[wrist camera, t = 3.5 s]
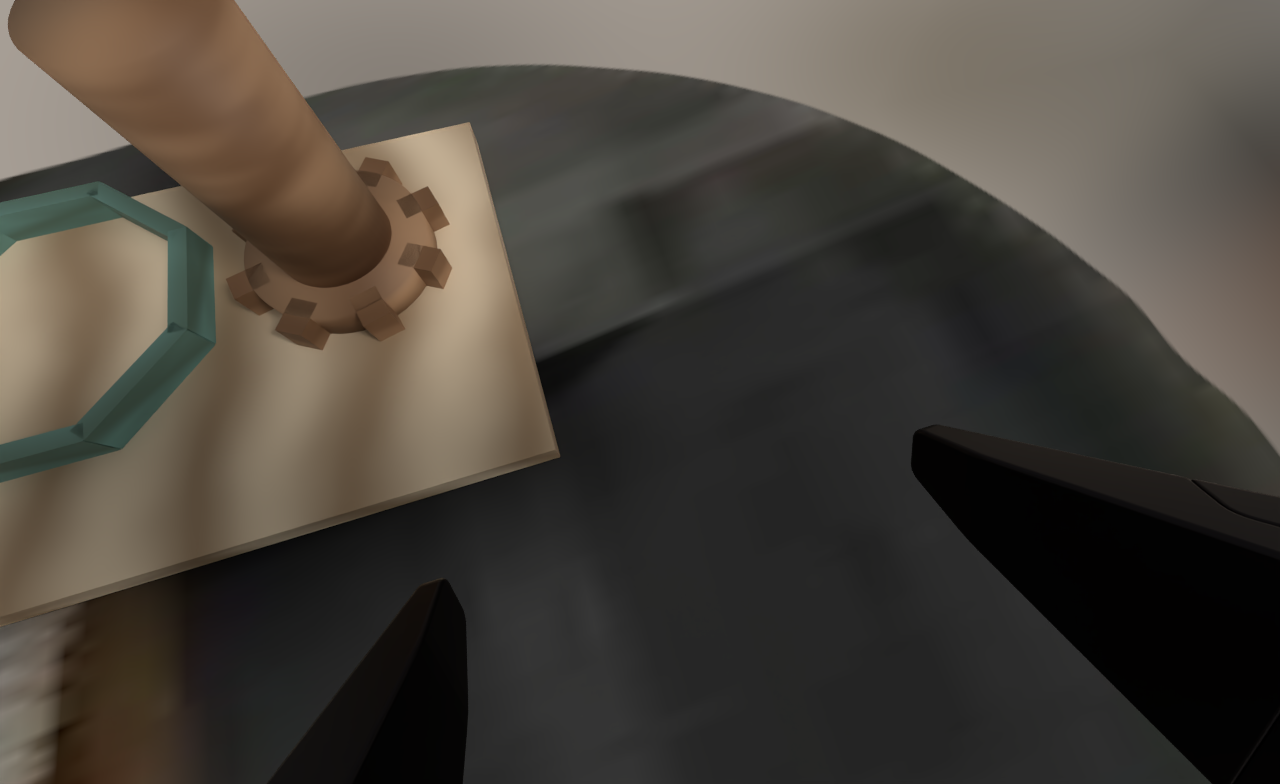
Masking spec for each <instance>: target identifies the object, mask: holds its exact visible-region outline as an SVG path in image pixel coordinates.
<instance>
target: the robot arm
mask: <svg viewBox="0 0 1280 784" xmlns="http://www.w3.org/2000/svg"><path fill="white" fill-rule="evenodd" d="M911 467H912V471H913V473H914V475H915V477H916V478H917V480H918V481H919V482H920V483H921V484H922V486H923V487H924V488H925V489H926V490H927V492H928V493H929V494H930V495H931V496H932V498H933V499H934V500H935V501H936V502H937V504H938V505H939V506H940V507H941V508H942V510H943V511H944V512H945V513H946V514H947V516H948V517H949V518H950V519H951V520H952V522H953V523H954V524H955V525H956V526H957V528H958V529H959V530H960V531H961V532H962V533H963V535H964V536H965V537H966V538H967V539H968V540H969V541H970V542H971V543H972V544H973V545H974V547H975V548H976V549H977V550H978V551H979V552H980V553H981V554H982V555H983V556H984V557H985V558H986V559H987V560H988V561H989V562H990V563H991V564H992V565H993V566H994V567H995V568H996V569H997V570H998V571H999V572H1000V573H1001V574H1002V575H1003V576H1004V577H1005V578H1006V579H1007V580H1008V581H1009V582H1010V583H1011V584H1012V585H1013V586H1014V587H1015V588H1016V589H1017V590H1018V591H1019V592H1020V593H1021V594H1022V595H1023V596H1024V597H1025V598H1026V599H1027V600H1028V601H1029V602H1030V603H1031V604H1032V605H1033V606H1034V607H1035V608H1036V609H1037V610H1038V611H1039V612H1040V613H1041V614H1042V615H1043V616H1044V617H1045V618H1046V619H1047V620H1048V621H1049V622H1050V623H1051V624H1052V625H1053V626H1054V627H1055V628H1056V629H1057V630H1058V631H1059V632H1060V633H1061V634H1062V635H1063V636H1064V637H1065V638H1066V639H1067V640H1068V641H1069V642H1070V643H1071V644H1072V645H1073V646H1074V647H1075V648H1076V649H1077V650H1079V651H1080V652H1081V653H1082V654H1083V655H1084V656H1085V657H1086V658H1087V659H1088V660H1089V661H1090V662H1091V663H1092V664H1093V665H1094V666H1095V667H1096V668H1097V669H1098V670H1099V671H1100V672H1101V673H1102V674H1103V675H1104V676H1105V677H1106V678H1107V679H1108V680H1109V681H1110V682H1111V683H1112V684H1113V685H1114V686H1115V687H1116V688H1117V689H1118V690H1119V691H1120V692H1121V693H1122V694H1123V695H1124V696H1125V697H1126V698H1127V699H1128V700H1129V701H1130V702H1131V703H1132V704H1133V705H1134V706H1135V707H1136V708H1137V709H1138V710H1139V711H1140V712H1141V713H1142V714H1143V715H1144V716H1145V717H1146V718H1147V719H1148V720H1149V721H1150V722H1151V723H1152V724H1153V725H1154V726H1155V727H1156V728H1157V729H1158V730H1159V731H1160V732H1161V733H1162V734H1163V735H1164V736H1165V737H1166V738H1167V739H1168V740H1169V741H1170V742H1171V743H1172V744H1173V745H1174V746H1175V747H1176V748H1177V749H1178V750H1179V751H1180V752H1181V753H1182V754H1183V755H1184V756H1185V757H1186V758H1187V759H1188V760H1189V761H1190V762H1191V763H1192V764H1193V765H1194V766H1195V767H1196V768H1197V769H1198V770H1199V771H1200V772H1201V773H1202V774H1203V775H1204V776H1205V777H1206V778H1207V779H1208V780H1209V781H1210V782H1211V783H1212V784H1280V497H1278V496H1273V495H1268V494H1263V493H1258V492H1253V491H1248V490H1243V489H1238V488H1234V487H1229V486H1224V485H1219V484H1215V483H1210V482H1205V481H1201V480H1196V479H1194V480H1190V479H1188V478H1186V477H1181V476H1177V475H1172V474H1167V473H1163V472H1158V471H1153V470H1148V469H1144V468H1139V467H1134V466H1130V465H1125V464H1120V463H1116V462H1111V461H1106V460H1102V459H1097V458H1092V457H1087V456H1083V455H1078V454H1073V453H1069V452H1064V451H1059V450H1055V449H1050V448H1045V447H1041V446H1036V445H1031V444H1026V443H1022V442H1017V441H1012V440H1008V439H1003V438H998V437H994V436H989V435H984V434H980V433H975V432H970V431H966V430H961V429H956V428H951V427H947V426H942V425H931V426H928V427H925V428H922V429H919V430H917V431H916V432H915V433H914V435H913V443H912V457H911ZM467 723H468V677H467V640H466V619H465V614H464V611H463V608H462V606H461V604H460V602H459V600H458V598H457V597H456V595H455V593H454V591H453V589H452V587H451V585H450V583H449V582H448V581H447V580H446V579H444V578H440V579H437V580H433V581H430V582H427V583H424V584H422V585H420V586H419V587H418V588H417V589H416V591H415V592H414V593H413V594H412V596H411V597H410V598H409V600H408V601H407V602H406V604H405V605H404V606H403V607H402V609H401V610H400V611H399V613H398V614H397V615H396V616H395V618H394V619H393V620H392V622H391V623H390V624H389V626H388V627H387V628H386V629H385V631H384V632H383V633H382V635H381V636H380V637H379V639H378V640H377V641H376V642H375V644H374V645H373V646H372V648H371V649H370V650H369V652H368V653H367V654H366V655H365V657H364V658H363V659H362V661H361V662H360V663H359V665H358V666H357V667H356V668H355V670H354V671H353V672H352V674H351V675H350V676H349V677H348V679H347V680H346V681H345V683H344V684H343V685H342V687H341V688H340V689H339V690H338V692H337V693H336V694H335V696H334V697H333V698H332V700H331V701H330V702H329V703H328V705H327V706H326V707H325V709H324V710H323V711H322V713H321V714H320V715H319V716H318V718H317V719H316V720H315V722H314V723H313V724H312V725H311V727H310V728H309V729H308V731H307V732H306V733H305V735H304V736H303V737H302V738H301V740H300V741H299V742H298V744H297V745H296V746H295V748H294V749H293V750H292V751H291V753H290V754H289V755H288V757H287V758H286V759H285V761H284V762H283V763H282V764H281V766H280V767H279V768H278V770H277V771H276V772H275V773H274V775H273V776H272V777H271V779H270V780H269V781H268V783H267V784H463V773H464V761H465V749H466V737H467Z"/></svg>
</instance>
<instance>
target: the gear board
mask: <svg viewBox="0 0 1280 784" xmlns="http://www.w3.org/2000/svg"><path fill="white" fill-rule="evenodd" d="M342 153H343V154H344V155H345V157H346V158H347V160H348V161H349V162H350V164H351V165H352V167H353V168H354V169H355V170H359V168H360V166H361V165H362V163H363V161H364V159H365V157H368V158H374V159H379V160H384V161H389V163H390V164H391V166H392V168H393V169H394V171H395V172H396V174H397V176H398V177H399V179H400V181H401V182H402V186H404V187H405V188H406V189H407V190H408V191H409V192H410V193H411V194H412V193H414V192H416V191H418V190H420V189H422V188H425V187H427V186H428V187H429V189H430V190H431V192H432V194H433V195H434V197H435V199H436V200H437V202H438V204H439V205H440V207H441V209H442V211H443V213H444V215H445V216H446V218H447V220H448V222H449V224H450V225H448V226H446V227H443V228H441V229H439V230H437V231H435V232H434V233H435V236H436V241H437V248H438V249H441V250H442V252H443V254H444V255H445V257H446V258H447V260H448V262H449V263H450V265H451V267H452V270H451V273H450V275H449V278H448V280H447V282H446V285H445V287H444V289H440V288H435V287H430V286H426V287H425V289H424V290H423V292H422V293H421V295H420V296H419V297H418V298H417V299H416V300H415V301H414V302H413V303H412V304H411V305H410V306H409V307H408V308H407V309H406V310H404V311H403V312H402V313H400V314H399V315H398V316H399V318H400V320H401V322H402V324H403V325H404V327H405V330H403V331H401V332H399V333H397V334H395V335H393V336H391V337H389V338H387V339H385V340H383V341H379V340H378V339H377V338H376V337H375V336H374V335H372V334H371V333H370V332H369V331H368V330H364V331H359V332H354V333H346V334H330V336H329V338H328V340H327V342H326V344H325V347H324V349H323V350H318V349H314V348H309V347H305V346H300V345H297V344H295V343H294V342H292V341H291V340H289V339H288V338H286V337H285V336H283V335H282V334H280V333H278V332H277V331H275V329H276V327H277V325H278V323H279V321H280V319H281V317H282V314H281V313H279V312H278V311H277V310H275V309H272V310H270V311H268V312H266V313H264V314H262V315H260V316H259V315H257V314H256V313H254V312H253V311H251V310H250V309H248V308H247V307H245V306H244V305H242V304H241V303H239V302H238V301H236V300H235V299H234V298H233V295H232V293H231V290H230V288H229V285H228V283H227V281H226V278H229V277H231V276H233V275H235V274H237V273H239V272H242V271H244V270H245V267H244V250H245V245H246V242H244V241H243V240H242V239H241V238H240V237H238V236H237V235H236V234H235V233H234V232H232V229H233V228H232V227H231V226H229V225H228V224H227V223H226V222H225V221H223V220H222V219H221V218H220V217H219V216H217V215H216V214H215V213H214V212H213V211H211V210H210V209H209V208H208V207H207V206H205V205H204V204H203V203H202V202H201V201H199V200H198V199H197V198H196V197H195V196H193V195H192V194H191V193H190V192H188V191H187V190H186V189H185V188H184V187H182V186H179V187H174V188H170V189H165V190H161V191H156V192H152V193H147V194H142V195H138V196H133V197H129V196H127V195H125V194H123V193H121V192H119V191H117V190H115V189H113V188H111V187H109V186H108V185H106V184H104V183H102V182H99V181H98V182H94V183H89V184H84V185H80V186H75V187H70V188H66V189H61V190H57V191H52V192H47V193H43V194H38V195H33V196H29V197H24V198H20V199H15V200H10V201H6V202H1V203H0V627H2V626H5V625H8V624H11V623H15V622H18V621H21V620H25V619H28V618H31V617H35V616H38V615H41V614H44V613H48V612H51V611H54V610H58V609H61V608H64V607H68V606H71V605H74V604H77V603H81V602H84V601H87V600H91V599H94V598H97V597H100V596H104V595H107V594H110V593H114V592H117V591H120V590H124V589H127V588H130V587H133V586H137V585H140V584H143V583H147V582H150V581H153V580H157V579H160V578H163V577H166V576H170V575H173V574H176V573H180V572H183V571H186V570H189V569H193V568H196V567H199V566H203V565H206V564H209V563H213V562H216V561H219V560H222V559H226V558H229V557H232V556H236V555H239V554H242V553H246V552H249V551H252V550H255V549H259V548H262V547H265V546H269V545H272V544H275V543H278V542H282V541H285V540H288V539H292V538H295V537H298V536H302V535H305V534H308V533H311V532H315V531H318V530H321V529H325V528H328V527H331V526H335V525H338V524H341V523H344V522H348V521H351V520H354V519H358V518H361V517H364V516H367V515H371V514H374V513H377V512H381V511H384V510H387V509H391V508H394V507H397V506H400V505H404V504H407V503H410V502H414V501H417V500H420V499H424V498H427V497H430V496H433V495H437V494H440V493H443V492H447V491H450V490H453V489H456V488H460V487H463V486H466V485H470V484H473V483H476V482H480V481H483V480H486V479H489V478H493V477H496V476H499V475H503V474H506V473H509V472H513V471H516V470H519V469H522V468H526V467H529V466H532V465H536V464H539V463H542V462H545V461H549V460H552V459H555V458H559V457H560V453H559V450H558V446H557V442H556V438H555V434H554V431H553V427H552V423H551V419H550V415H549V412H548V408H547V404H546V400H545V397H544V393H543V389H542V385H541V381H540V378H539V374H538V370H537V366H536V363H535V359H534V355H533V351H532V347H531V344H530V340H529V336H528V332H527V329H526V325H525V321H524V317H523V313H522V310H521V306H520V302H519V298H518V295H517V291H516V287H515V283H514V279H513V276H512V272H511V268H510V264H509V261H508V257H507V253H506V249H505V245H504V242H503V238H502V234H501V230H500V227H499V223H498V219H497V215H496V211H495V208H494V204H493V200H492V196H491V193H490V189H489V185H488V181H487V177H486V174H485V170H484V166H483V162H482V159H481V155H480V151H479V147H478V144H477V141H476V138H475V136H474V133H473V130H472V128H471V125H470V122H468V123H464V124H459V125H455V126H450V127H446V128H441V129H437V130H432V131H428V132H423V133H419V134H414V135H410V136H405V137H400V138H396V139H391V140H387V141H382V142H378V143H373V144H369V145H364V146H360V147H355V148H351V149H346V150H342Z"/></svg>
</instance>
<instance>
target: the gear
mask: <svg viewBox="0 0 1280 784" xmlns="http://www.w3.org/2000/svg"><path fill="white" fill-rule="evenodd" d="M8 30H9V35H10V37H11V40H12V41H13V43H14V45H15V46H16V47H17V49H18V50H19V51H21V52H22V53H23V54H24V55H25V56H27V57H28V58H29V59H30V60H31V61H33V62H34V63H35V64H36V65H37V66H38V67H40V68H41V69H42V70H43V71H45V72H46V73H47V74H48V75H49V76H50V77H52V78H53V79H54V80H55V81H57V82H58V83H59V84H60V85H61V86H62V87H64V88H65V89H66V90H68V91H69V92H70V93H71V94H72V95H73V96H74V97H76V98H77V99H78V100H79V101H81V102H82V103H83V104H84V105H86V107H88V108H89V109H90V110H91V111H92V112H94V113H95V114H96V115H97V116H99V117H100V118H101V119H102V120H103V121H105V122H106V123H107V124H108V125H109V126H111V127H112V128H113V129H114V130H116V131H117V132H118V133H119V134H120V135H121V136H122V137H124V138H125V139H126V140H127V141H128V142H130V143H131V144H132V145H133V146H134V147H136V148H137V149H138V150H139V151H140V152H142V153H143V154H144V155H145V156H146V157H148V158H149V159H150V160H151V161H152V162H154V163H155V164H156V165H157V166H158V167H160V168H161V169H162V170H163V171H164V172H166V173H167V174H168V175H169V176H170V177H172V178H173V179H174V180H175V181H176V182H178V183H179V184H180V185H181V186H182V187H184V188H185V189H186V190H187V191H188V192H190V193H191V194H192V195H193V196H195V197H196V198H197V199H198V200H199V201H201V202H202V203H203V204H204V205H205V206H207V207H208V208H209V209H210V210H211V211H213V212H214V213H215V214H216V215H217V216H219V217H220V218H221V219H222V220H223V221H225V222H226V223H227V224H228V225H229V226H231V227H232V228H233V229H232V232H234V233H235V234H236V235H237V236H238V237H240V238H241V239H242V240H243V241H244V242H246V245H245V250H244V267H245V270H244V271H242V272H239V273H237V274H235V275H233V276H231V277H229V278H226V281H227V283H228V285H229V288H230V290H231V293H232V295H233V298H234V299H235V300H236V301H238V302H239V303H241V304H242V305H244V306H245V307H247V308H248V309H250V310H251V311H253V312H254V313H256V314H257V315H259V316H260V315H262V314H264V313H266V312H268V311H270V310H272V309H275V310H277V311H278V312H279V313H281V314H282V317H281V319H280V321H279V323H278V325H277V327H276V329H275V331H277V332H278V333H280V334H282V335H283V336H285V337H286V338H288V339H289V340H291V341H292V342H294V343H295V344H297V345H300V346H305V347H309V348H314V349H318V350H323V349H324V347H325V344H326V342H327V340H328V338H329V336H330V334H346V333H354V332H359V331H364V330H368V331H369V332H370V333H371V334H372V335H374V336H375V337H376V338H377V339H378V340H379V341H383V340H385V339H387V338H389V337H391V336H393V335H395V334H397V333H399V332H401V331H403V330H405V327H404V325H403V324H402V322H401V320H400V318H399V316H398V315H399V314H400V313H402V312H403V311H404V310H406V309H407V308H408V307H409V306H410V305H411V304H412V303H413V302H414V301H415V300H416V299H417V298H418V297H419V296H420V295H421V293H422V292H423V290H424V289H425V287H426V286H430V287H435V288H440V289H444V287H445V285H446V282H447V280H448V278H449V275H450V273H451V270H452V267H451V265H450V263H449V262H448V260H447V258H446V257H445V255H444V254H443V252H442V250H441V249H438V248H437V241H436V236H435V233H434V232H435V231H437V230H439V229H441V228H443V227H446V226H448V225H450V224H449V222H448V220H447V218H446V216H445V215H444V213H443V211H442V209H441V207H440V205H439V204H438V202H437V200H436V199H435V197H434V195H433V194H432V192H431V190H430V189H429V187H428V186H427V187H425V188H422V189H420V190H418V191H416V192H414V193H412V194H411V193H410V192H409V191H408V190H407V189H406V188H405V187H404V186H402V182H401V181H400V179H399V177H398V176H397V174H396V172H395V171H394V169H393V168H392V166H391V164H390V163H389V161H384V160H379V159H374V158H368V157H365V159H364V161H363V163H362V165H361V166H360V168H359V170H355V169H354V168H353V167H352V165H351V164H350V162H349V161H348V160H347V158H346V157H345V155H344V154H343V153H342V151H341V150H340V148H339V147H338V146H337V144H336V143H335V141H334V140H333V139H332V137H331V136H330V134H329V133H328V132H327V130H326V129H325V127H324V126H323V124H322V123H321V122H320V120H319V119H318V117H317V116H316V115H315V113H314V112H313V110H312V109H311V108H310V106H309V105H308V103H307V102H306V101H305V99H304V98H303V96H302V95H301V94H300V92H299V91H298V89H297V88H296V87H295V85H294V84H293V82H292V81H291V79H290V78H289V77H288V75H287V74H286V73H285V71H284V70H283V68H282V67H281V65H280V64H279V63H278V61H277V60H276V58H275V57H274V56H273V54H272V53H271V51H270V50H269V49H268V47H267V46H266V44H265V43H264V42H263V40H262V39H261V37H260V36H259V34H258V33H257V32H256V30H255V29H254V27H253V26H252V25H251V23H250V22H249V20H248V19H247V18H246V16H245V15H244V13H243V12H242V11H241V9H240V8H239V6H238V5H237V4H236V2H235V1H234V0H15V1H14V4H13V6H12V8H11V11H10V14H9V18H8Z"/></svg>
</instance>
